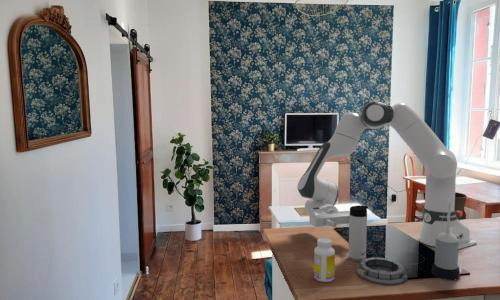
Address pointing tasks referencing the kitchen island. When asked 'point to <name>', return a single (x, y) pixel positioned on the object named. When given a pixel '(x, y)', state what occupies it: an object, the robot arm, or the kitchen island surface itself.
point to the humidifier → (446, 253)
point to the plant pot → (459, 203)
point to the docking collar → (382, 271)
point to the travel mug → (357, 233)
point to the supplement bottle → (324, 260)
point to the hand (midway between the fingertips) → (345, 223)
